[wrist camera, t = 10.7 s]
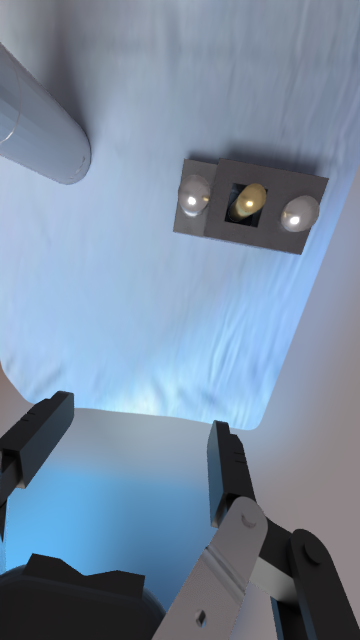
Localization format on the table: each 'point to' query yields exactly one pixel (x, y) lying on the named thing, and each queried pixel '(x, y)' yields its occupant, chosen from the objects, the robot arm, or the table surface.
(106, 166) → the table surface
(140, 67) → the table surface
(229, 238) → the knobbed metal plate
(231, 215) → the brass pin
